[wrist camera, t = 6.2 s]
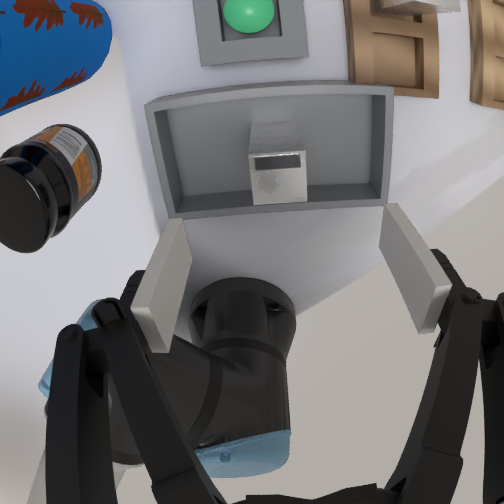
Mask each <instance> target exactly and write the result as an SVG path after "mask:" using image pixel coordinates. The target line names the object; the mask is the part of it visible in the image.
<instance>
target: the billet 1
mask: <svg viewBox="0 0 504 504" xmlns="http://www.w3.org/2000/svg"><path fill="white" fill-rule="evenodd" d="M248 158H249V167H250V176H251V185H252V194H253V203H254V205H264V204H277V203H292V202H307V174H306V150H305V148H304V146H303V144H302V141H301V139H300V137H299V135H298V132H297V130H296V128H295V126H294V124H293V122H292V121H282V122H268V123H255V124H251V132H250V142H249V151H248Z"/></svg>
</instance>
